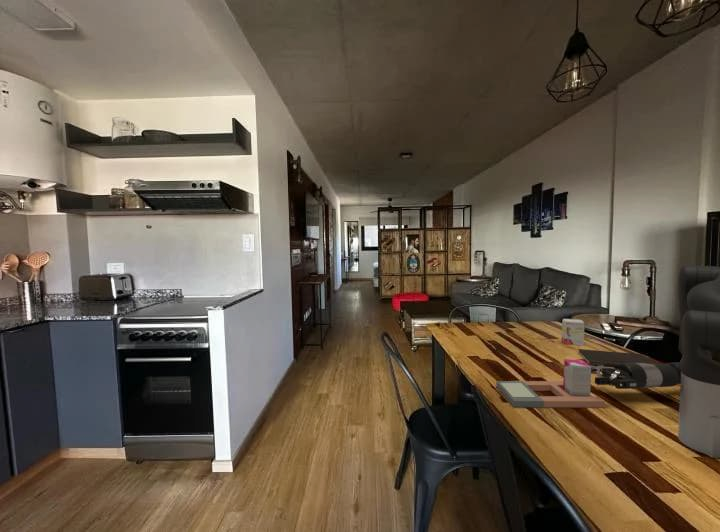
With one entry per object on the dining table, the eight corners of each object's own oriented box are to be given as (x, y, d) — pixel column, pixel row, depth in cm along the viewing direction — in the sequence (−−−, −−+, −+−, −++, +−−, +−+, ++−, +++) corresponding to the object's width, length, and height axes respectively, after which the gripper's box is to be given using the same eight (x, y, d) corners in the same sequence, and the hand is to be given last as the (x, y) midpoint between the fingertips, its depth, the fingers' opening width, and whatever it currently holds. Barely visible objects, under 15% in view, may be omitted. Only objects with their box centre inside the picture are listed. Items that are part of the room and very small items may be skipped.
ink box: (563, 344, 154) (564, 320, 153) (561, 341, 158) (561, 318, 158) (584, 346, 151) (584, 322, 150) (581, 343, 155) (582, 319, 154)
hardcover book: (578, 353, 142) (578, 348, 142) (641, 359, 134) (641, 354, 134) (589, 366, 127) (589, 361, 127) (661, 374, 119) (661, 368, 119)
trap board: (604, 407, 95) (604, 400, 95) (514, 407, 96) (514, 400, 96) (575, 386, 109) (575, 380, 109) (496, 386, 110) (496, 380, 110)
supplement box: (590, 401, 99) (591, 366, 98) (570, 400, 100) (571, 365, 99) (581, 393, 104) (582, 359, 104) (562, 391, 106) (563, 358, 105)
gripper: (621, 356, 108) (572, 356, 108) (658, 373, 93) (602, 373, 94) (620, 377, 108) (572, 377, 109) (657, 397, 94) (601, 397, 95)
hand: (586, 375), depth 102 cm, fingers open, 8 cm apart
